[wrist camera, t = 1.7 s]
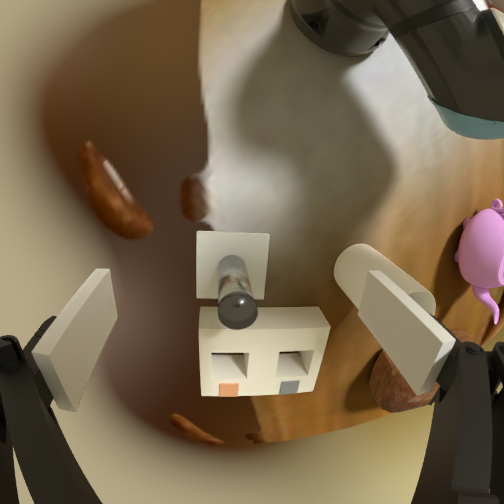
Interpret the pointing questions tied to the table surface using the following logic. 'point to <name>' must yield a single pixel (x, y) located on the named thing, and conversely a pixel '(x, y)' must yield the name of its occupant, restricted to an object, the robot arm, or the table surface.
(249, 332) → the socket block
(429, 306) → the cup
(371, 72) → the table surface
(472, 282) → the teapot
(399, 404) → the bread
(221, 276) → the plug
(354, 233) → the table surface
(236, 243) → the white flat square plate
